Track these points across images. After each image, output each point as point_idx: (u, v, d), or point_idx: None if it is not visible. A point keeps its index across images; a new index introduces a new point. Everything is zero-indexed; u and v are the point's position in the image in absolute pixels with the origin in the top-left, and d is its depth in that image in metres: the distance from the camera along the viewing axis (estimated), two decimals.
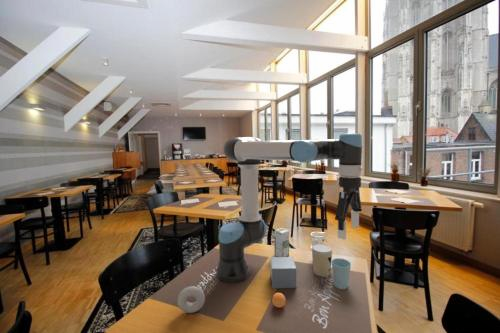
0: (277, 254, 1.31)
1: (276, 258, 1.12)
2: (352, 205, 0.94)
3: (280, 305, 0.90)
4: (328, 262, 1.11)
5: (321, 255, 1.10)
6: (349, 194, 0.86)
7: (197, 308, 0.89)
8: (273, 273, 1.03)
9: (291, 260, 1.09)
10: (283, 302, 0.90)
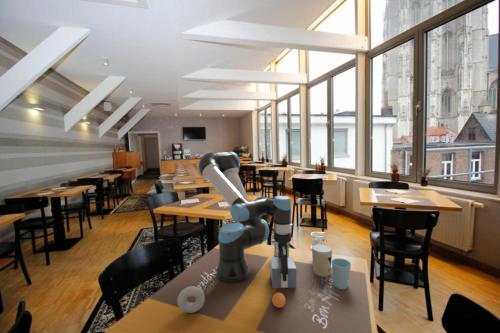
0: (277, 254, 1.31)
1: (276, 258, 1.12)
2: (280, 254, 1.12)
3: (280, 305, 0.90)
4: (328, 262, 1.11)
5: (321, 255, 1.10)
6: (285, 247, 1.04)
7: (197, 308, 0.89)
8: (273, 273, 1.03)
9: (291, 260, 1.09)
10: (283, 302, 0.90)
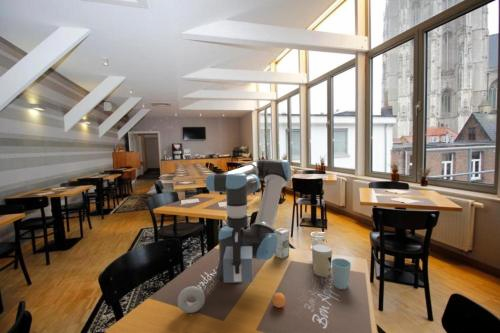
0: (277, 254, 1.31)
1: (232, 247, 0.94)
2: None
3: (280, 305, 0.90)
4: (328, 262, 1.11)
5: (321, 255, 1.10)
6: (240, 234, 0.87)
7: (197, 308, 0.89)
8: (224, 264, 0.86)
9: (249, 250, 0.92)
10: (283, 302, 0.90)
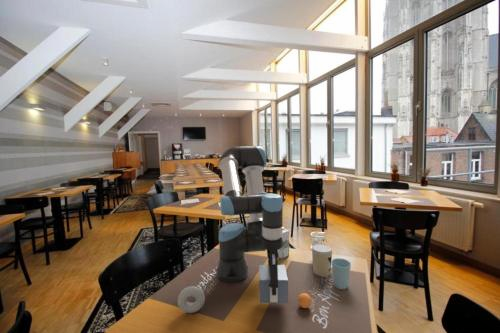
0: None
1: (265, 266, 0.95)
2: None
3: (305, 302, 0.89)
4: (328, 262, 1.11)
5: (321, 255, 1.10)
6: (276, 255, 0.87)
7: (197, 308, 0.89)
8: (261, 285, 0.87)
9: (283, 269, 0.93)
10: (301, 301, 0.90)
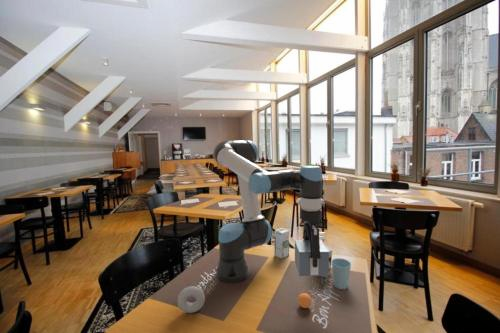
0: (277, 254, 1.31)
1: (302, 241, 0.93)
2: (306, 237, 0.94)
3: (305, 302, 0.89)
4: None
5: None
6: None
7: (197, 308, 0.89)
8: (301, 258, 0.85)
9: (320, 243, 0.91)
10: (301, 301, 0.90)
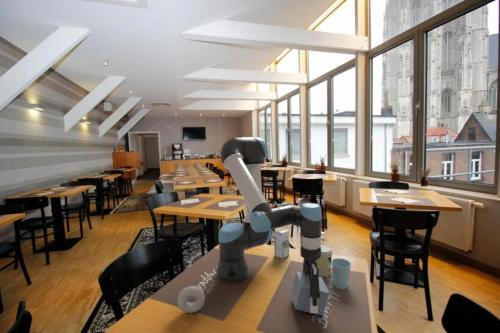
0: (277, 254, 1.31)
1: (303, 274, 0.95)
2: (306, 272, 0.95)
3: None
4: (328, 262, 1.11)
5: (321, 255, 1.10)
6: None
7: (197, 308, 0.89)
8: (301, 292, 0.86)
9: (321, 281, 0.93)
10: None
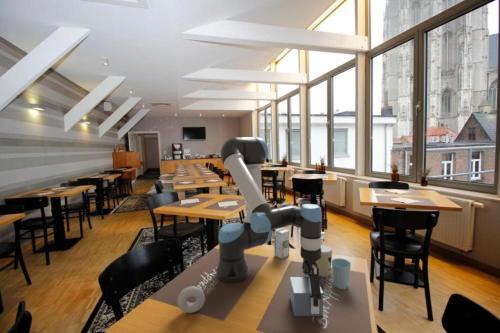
0: (277, 254, 1.31)
1: (297, 278, 0.95)
2: (306, 270, 0.96)
3: None
4: (328, 262, 1.11)
5: (321, 255, 1.10)
6: (315, 266, 0.87)
7: (197, 308, 0.89)
8: (295, 298, 0.86)
9: None
10: None
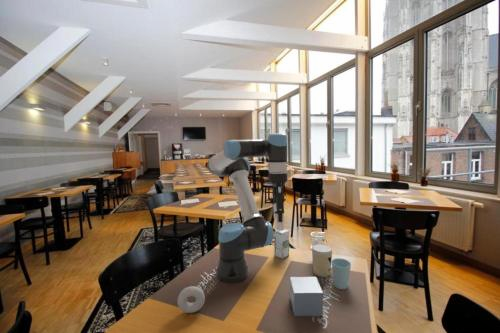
0: (277, 254, 1.31)
1: (297, 278, 0.95)
2: (275, 198, 1.04)
3: None
4: (328, 262, 1.11)
5: (321, 255, 1.10)
6: None
7: (197, 308, 0.89)
8: (295, 298, 0.86)
9: (315, 281, 0.93)
10: None
